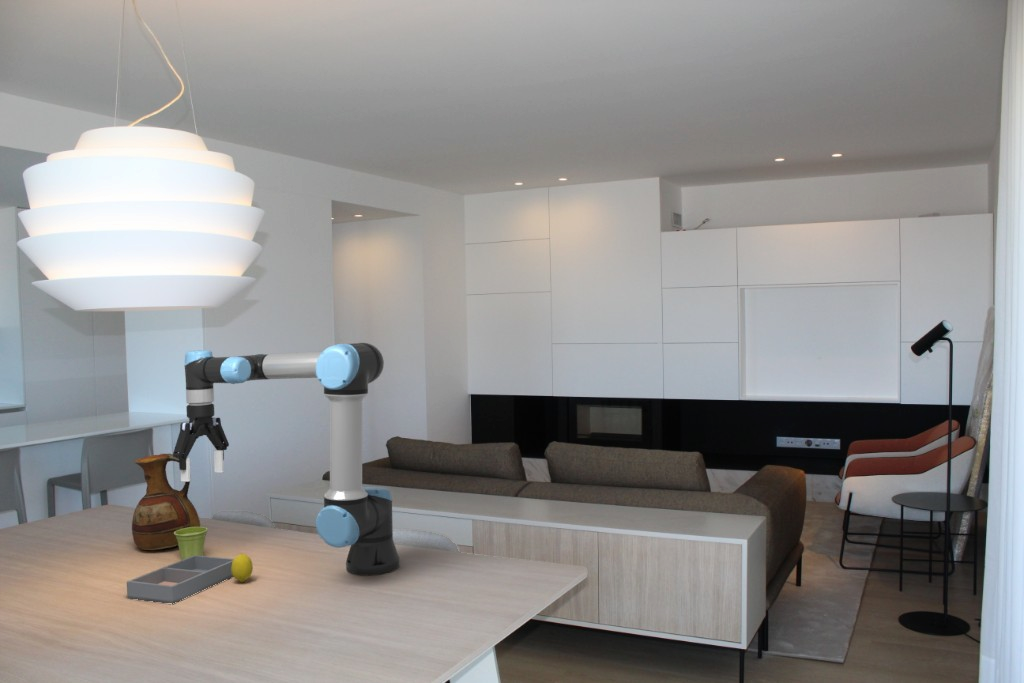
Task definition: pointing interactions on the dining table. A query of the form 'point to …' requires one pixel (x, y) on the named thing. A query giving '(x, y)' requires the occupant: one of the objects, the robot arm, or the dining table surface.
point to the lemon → (241, 567)
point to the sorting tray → (180, 579)
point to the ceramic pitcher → (161, 507)
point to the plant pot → (191, 541)
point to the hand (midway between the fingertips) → (202, 476)
